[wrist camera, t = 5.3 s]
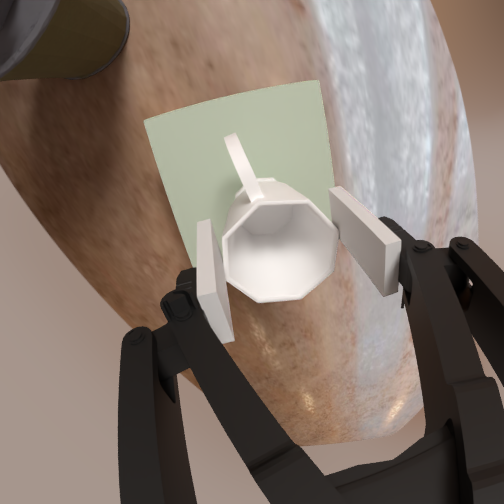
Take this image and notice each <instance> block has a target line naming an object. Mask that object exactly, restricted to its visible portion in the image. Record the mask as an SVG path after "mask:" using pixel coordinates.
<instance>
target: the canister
mask: <svg viewBox="0 0 504 504" xmlns="http://www.w3.org/2000/svg"><path fill="white" fill-rule="evenodd" d="M128 33H129V14H128V11H127V8H126V6H125V5H124V3H123V2H122V1H121V0H0V81H7V80H19V79H36V78H65V79H83V78H87V77H89V76H91V75H94V74H96V73H98V72H100V71H101V70H103V69H104V68H105V67H107V66H108V65H109V64H110V63H111V62H112V61H113V60H114V59H115V58H116V57H117V56H118V55H119V53H120V51H121V49H122V47H123V45H124V43H125V41H126V39H127V36H128Z"/></svg>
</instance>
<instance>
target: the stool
mask: <svg viewBox="0 0 504 504" xmlns="http://www.w3.org/2000/svg"><path fill="white" fill-rule="evenodd" d="M144 124H145V128H146V131H147V134H148V138H149V141H150V144H151V147H152V151H153V154H154V157H155V160H156V163H157V166H158V169H159V172H160V175H161V178H162V181H163V184H164V187H165V190H166V193H167V196H168V199H169V202H170V205H171V208H172V211H173V214H174V217H175V220H176V222H177V225H178V228H179V231H180V234H181V236H182V239H183V242H184V245H185V247H186V250H187V253H188V255H189V258H190V261H191V263H192V266H193V268H194V267H197V222H199V221H203V220H207V219H211V222H212V226H213V229H214V232H215V236H216V239H217V242H218V245H219V248H220V252H221V255H222V258H223V249H222V235H223V231H224V227H225V224H226V221H227V216H228V212H229V208H230V206H231V205H232V203H233V202H234V200H235V194H236V193H237V192H238V191H239V190H240V189H241V188H242V187H243V184H242V182H241V179H240V177H239V175H238V173H237V170H236V168H235V166H234V163H233V161H232V159H231V156H230V154H229V151H228V149H227V146H226V143H225V140H224V137H226V136H228V135H230V134H233V133H236V135H237V137H238V139H239V141H240V143H241V146H242V148H243V150H244V152H245V154H246V156H247V159H248V161H249V163H250V165H251V167H252V170H253V172H254V174H255V176H256V178H274V179H275V180H276V181H278V182H282V183H286V184H287V185H288V186H290V187H291V188H293V189H294V190H296V191H297V192H299V193H300V194H302V195H304V196H305V197H306V198H308V199H309V200H310V201H311V202H312V203H313V204H314V205H315V206H316V207H317V208H318V209H319V210H320V211H321V212H322V213H323V214H324V215H325V216H326V217H327V218H328V219H329V220H330V221H331V222H332V219H331V209H330V200H329V192H328V189H329V188H334V187H335V184H334V176H333V167H332V160H331V152H330V145H329V138H328V131H327V125H326V119H325V112H324V106H323V101H322V95H321V89H320V84H319V80H310V81H303V82H296V83H290V84H284V85H278V86H272V87H267V88H262V89H257V90H252V91H247V92H243V93H238V94H234V95H229V96H225V97H221V98H217V99H213V100H209V101H205V102H201V103H198V104H194V105H191V106H187V107H184V108H180V109H177V110H173V111H170V112H167V113H164V114H161V115H158V116H154V117H151V118H148V119H146V120H144Z"/></svg>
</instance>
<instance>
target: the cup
mask: <svg viewBox="0 0 504 504" xmlns="http://www.w3.org/2000/svg"><path fill="white" fill-rule="evenodd" d="M224 140H225V143H226V146H227V149H228V151H229V154H230V156H231V159H232V161H233V163H234V166H235V168H236V170H237V173H238V175H239V177H240V179H241V182H242V184H243V187H242V188H241V189H240V190H239V191H238V192H237V193H236V194H235V200H234V202H233V203H232V205H231V206H230V208H229V212H228V216H227V221H226V224H225V227H224V231H223V235H222V249H223V264H224V271H225V278H226V281H227V282H228V283H230V284H231V285H233V286H234V287H235V288H237V289H238V290H240V291H241V292H243V293H244V294H245V295H247V296H248V297H250V298H251V299H253V300H254V301H255V302H257V303H266V302H278V301H289V300H300V299H302V298H303V297H304V296H306V295H307V294H308V293H309V292H310V291H312V290H313V289H314V288H315V287H316V286H318V285H319V284H320V283H321V282H322V281H323V280H325V279H326V278H327V277H328V276H329V275H330V274H332V273H333V272H334V268H335V262H336V255H337V248H338V240H339V230H338V229H337V228H336V226H335V225H334V224H333V223H332V222H331V221H330V220H329V219H328V218H327V217H326V216H325V215H324V214H323V213H322V212H321V211H320V210H319V209H318V208H317V207H316V206H315V205H314V204H313V203H312V202H311V201H310V200H309V199H308V198H306V197H305V196H304V195H302V194H300V193H299V192H297V191H296V190H294V189H293V188H291V187H290V186H288V185H287V184H286V183H282V182H278V181H276V180H275V179H274V178H256V176H255V174H254V172H253V170H252V167H251V165H250V163H249V161H248V159H247V156H246V154H245V152H244V150H243V148H242V146H241V143H240V141H239V139H238V137H237V135H236V133H233V134H230V135H228V136H226V137H224Z"/></svg>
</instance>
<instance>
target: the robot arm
mask: <svg viewBox="0 0 504 504" xmlns="http://www.w3.org/2000/svg"><path fill="white" fill-rule="evenodd" d="M328 192H329V200H330V209H331V219H332V223H333V224H334V225H335V226H336V228H337V229H338V230H339V239H340V240H341V242H342V243H343V244H344V246H345V247H346V248H347V249H348V251H349V252H350V253H351V254H352V256H353V257H354V258H355V260H356V261H357V262H358V264H359V265H360V266H361V267H362V269H363V270H364V271H365V273H366V274H367V275H368V277H369V278H370V279H371V281H372V282H373V283H374V285H375V286H376V288H377V289H378V290H379V292H380V293H381V294H382V296H383V297H385V296H388V295H391V294H394V293H396V292H398V284H399V282H400V284H401V285H402V286H403V295H402V304H401V308H404V304H405V307H406V311H407V316H408V320H409V324H410V329H411V334H412V339H413V343H414V348H415V354H416V359H417V365H418V370H419V376H420V383H421V389H422V396H423V403H424V411H425V419H426V428H425V434H424V437H423V438H421V439H419V440H418V441H417V442H416V443H415V444H413V445H412V446H411V447H409V448H408V449H407V450H406V451H404V452H403V453H402V454H400V455H399V456H398V457H396V458H395V459H393V460H389V461H383V462H376V463H370V464H362V465H357V466H354V467H351V468H348V469H345V470H342V471H339V472H336V473H333V474H329V475H326V476H324V475H323V473H322V472H321V471H320V470H319V468H318V467H317V466H316V465H315V464H314V462H313V461H312V460H311V459H310V457H309V456H308V455H307V454H306V453H305V452H304V450H303V449H302V448H301V447H300V446H299V445H297V444H295V443H294V442H293V441H292V440H291V439H290V437H289V436H288V435H287V434H286V432H285V431H284V430H283V428H282V427H281V426H280V424H279V423H278V422H277V420H276V419H275V418H274V416H273V415H272V414H271V412H270V411H269V410H268V408H267V407H266V406H265V404H264V403H263V402H262V400H261V399H260V397H259V396H258V395H257V393H256V392H255V391H254V389H253V388H252V386H251V385H250V384H249V382H248V381H247V379H246V378H245V377H244V375H243V374H242V372H241V371H240V369H239V368H238V366H237V365H236V364H235V362H234V361H233V359H232V358H231V356H230V355H229V353H228V352H227V350H226V349H225V347H224V346H223V345H222V344H223V343H227V342H232V341H235V339H234V333H233V326H232V319H231V313H230V306H229V299H228V292H227V285H226V278H225V271H224V264H223V258H222V255H221V252H220V248H219V245H218V242H217V239H216V236H215V232H214V229H213V226H212V222H211V219H207V220H203V221H199V222H197V267H194V268H190V269H187V270H183V271H181V272H180V274H179V275H178V277H177V281H176V290H173V291H171V292H169V293H167V294H166V295H165V296H164V297H163V298H162V300H161V302H160V306H161V309H162V311H163V313H164V315H165V317H166V319H167V320H168V323H167V324H166V325H164V326H162V327H161V328H159V329H157V330H154V331H152V332H151V330H150V329H149V328H147V327H143V326H142V327H136V328H134V329H132V330H131V331H129V332H128V333H127V334H126V335H125V336H124V338H123V341H122V348H121V360H120V376H119V399H118V462H119V463H118V464H119V486H120V499H121V504H197V501H196V496H195V491H194V486H193V481H192V476H191V470H190V464H189V459H188V453H187V448H186V440H185V434H184V427H183V421H182V414H181V408H180V407H181V406H180V398H179V391H178V382H177V374H178V373H180V372H182V371H184V370H186V369H188V368H191V370H192V372H193V374H194V376H195V377H196V379H197V381H198V383H199V385H200V387H201V389H202V391H203V393H204V394H205V396H206V398H207V400H208V402H209V403H210V405H211V407H212V409H213V411H214V413H215V414H216V416H217V418H218V420H219V421H220V423H221V425H222V426H223V428H224V430H225V432H226V433H227V435H228V437H229V438H230V440H231V442H232V443H233V445H234V447H235V448H236V450H237V452H238V453H239V455H240V456H241V458H242V460H243V461H244V463H245V464H246V466H247V468H248V469H249V471H250V473H251V475H252V477H253V478H254V480H255V482H256V483H257V485H258V486H259V488H260V489H261V490H262V492H263V493H264V495H265V496H266V498H267V499H268V501H269V502H270V504H504V409H503V405H502V401H501V397H500V393H499V390H498V386H497V383H496V381H495V379H494V378H493V377H486V376H485V374H484V371H483V368H482V365H481V361H480V358H479V355H478V352H477V349H476V346H475V343H474V340H473V337H474V339H475V340H476V341H477V343H478V345H479V346H480V348H481V350H482V351H483V352H484V354H485V356H486V357H487V359H488V361H489V362H490V364H491V366H492V368H493V369H494V371H495V373H496V374H497V376H498V378H499V380H500V381H501V383H502V385H503V387H504V272H503V271H502V270H501V268H499V266H498V265H497V264H496V263H495V262H494V261H493V260H492V259H490V258H489V256H488V255H487V254H486V253H485V252H484V251H483V250H482V249H481V248H480V247H479V246H478V245H476V244H475V243H474V242H473V241H472V240H470V239H468V238H466V237H455V238H453V239H451V241H450V244H449V248H435V247H434V246H433V245H432V244H431V243H429V242H427V241H424V240H415V239H414V238H413V237H412V236H411V235H410V234H409V233H407V232H406V231H405V230H403V228H402V227H401V226H399V225H398V224H397V223H396V222H395V221H394V220H392V219H390V218H387V217H385V216H384V217H381V218H377V217H376V216H375V215H373V214H372V213H371V212H370V211H369V210H368V209H367V208H365V207H364V206H363V205H362V204H361V203H360V202H359V201H357V200H356V199H355V198H354V197H353V196H352V195H350V194H349V193H348V192H347V191H346V190H344V189H343V188H342V187H341V186H338V187H334V188H329V189H328ZM469 279H470V280H471V281H472V283H473V285H472V286H471V285H470V284H469ZM472 336H473V337H472Z"/></svg>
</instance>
